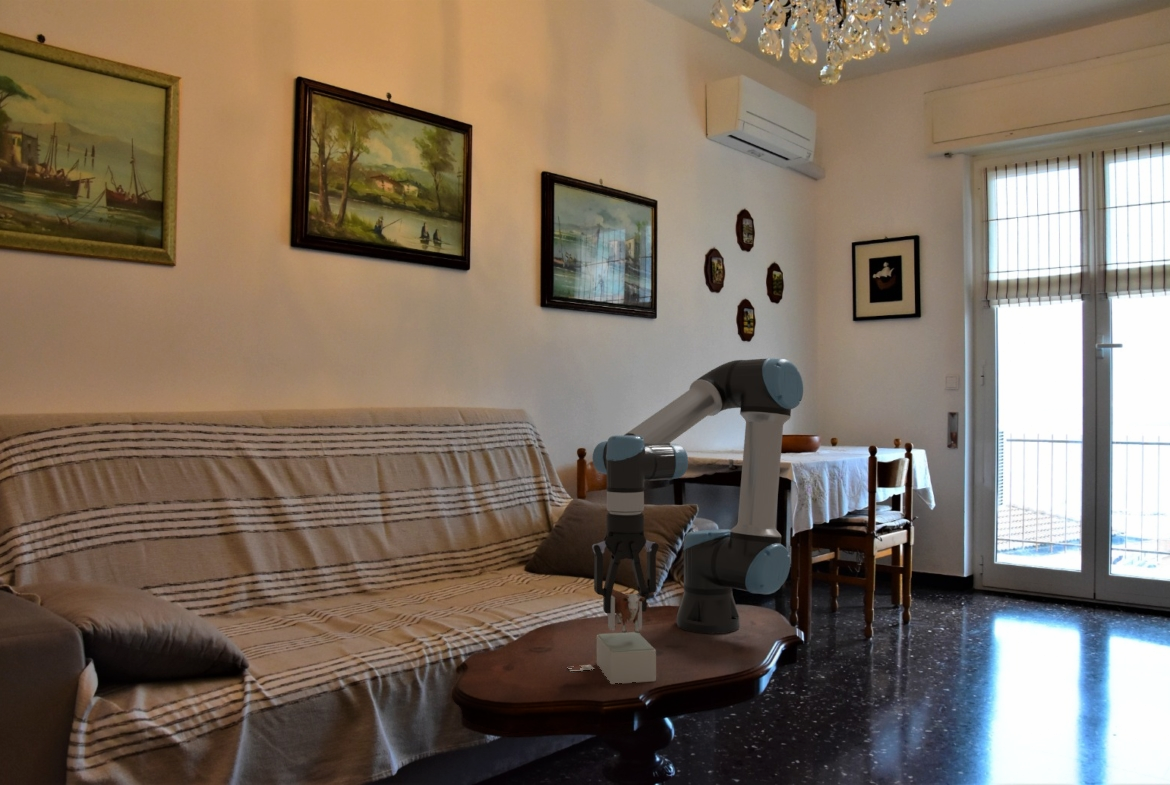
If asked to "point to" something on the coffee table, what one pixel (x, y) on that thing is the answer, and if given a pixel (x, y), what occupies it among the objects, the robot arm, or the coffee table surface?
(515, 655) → the coffee table surface
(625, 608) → the bull figurine
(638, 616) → the robot arm
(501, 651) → the coffee table surface
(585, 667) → the page
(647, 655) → the plinth
